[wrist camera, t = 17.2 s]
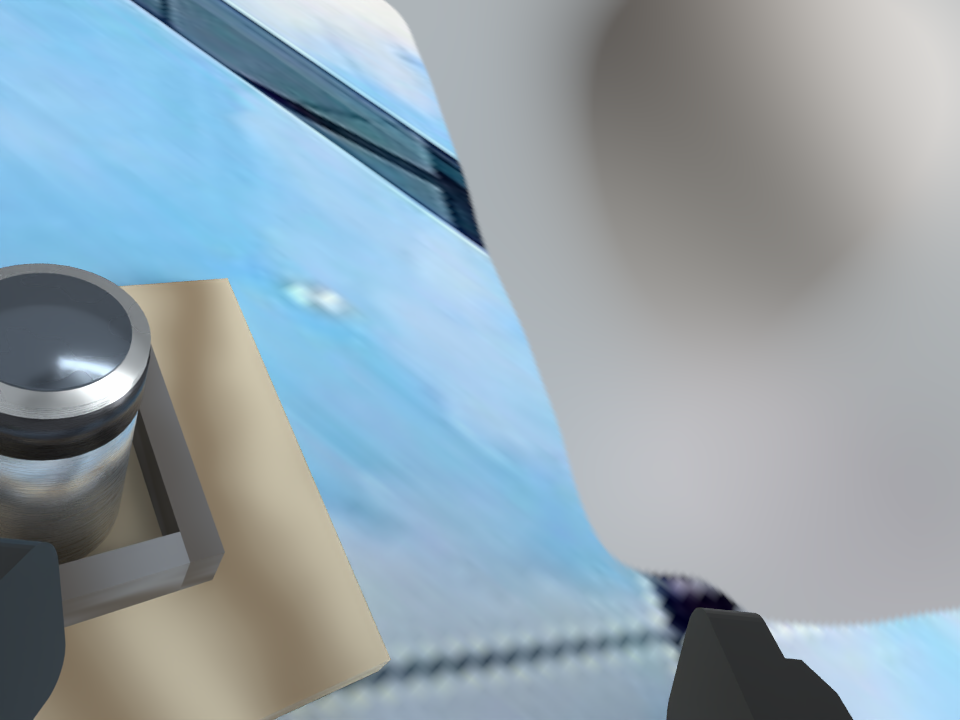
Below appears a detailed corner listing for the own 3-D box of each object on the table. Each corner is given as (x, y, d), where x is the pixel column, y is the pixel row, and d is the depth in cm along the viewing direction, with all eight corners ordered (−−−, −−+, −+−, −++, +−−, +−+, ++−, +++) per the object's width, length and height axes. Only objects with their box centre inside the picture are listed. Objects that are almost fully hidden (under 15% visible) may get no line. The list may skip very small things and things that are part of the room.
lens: (137, 461, 29) (173, 290, 22) (96, 583, 26) (123, 426, 19) (-7, 431, 27) (-17, 236, 21) (-72, 558, 24) (-110, 376, 17)
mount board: (221, 297, 38) (237, 243, 35) (378, 671, 30) (413, 638, 27) (-348, 349, 26) (-393, 271, 23) (-348, 1006, 17) (-417, 1007, 15)
